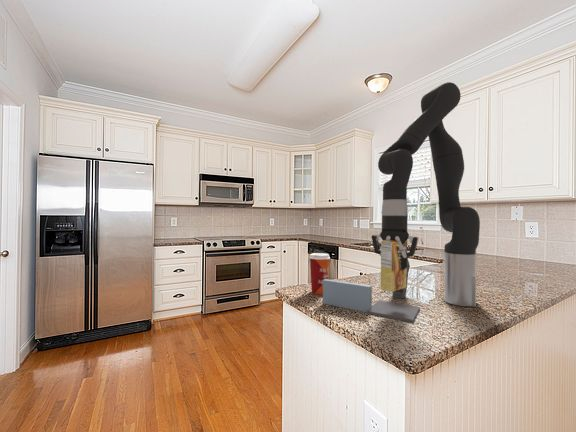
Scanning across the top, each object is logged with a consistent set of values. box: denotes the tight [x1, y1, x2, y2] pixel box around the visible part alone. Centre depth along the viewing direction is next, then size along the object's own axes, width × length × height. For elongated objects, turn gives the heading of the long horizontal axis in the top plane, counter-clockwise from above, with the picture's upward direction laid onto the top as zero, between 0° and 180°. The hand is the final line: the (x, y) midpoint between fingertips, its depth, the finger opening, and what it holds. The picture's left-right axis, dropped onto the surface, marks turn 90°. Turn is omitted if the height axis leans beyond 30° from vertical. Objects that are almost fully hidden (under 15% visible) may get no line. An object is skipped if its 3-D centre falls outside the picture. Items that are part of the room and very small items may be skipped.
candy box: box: [380, 240, 408, 293], centre depth 86 cm, size 9×4×15 cm, turn 129°
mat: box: [366, 299, 421, 323], centre depth 85 cm, size 13×13×1 cm
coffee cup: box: [308, 252, 331, 296], centre depth 106 cm, size 8×8×15 cm
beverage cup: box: [391, 260, 411, 299], centre depth 102 cm, size 7×7×20 cm
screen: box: [322, 278, 373, 313], centre depth 89 cm, size 16×2×8 cm, turn 57°
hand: (394, 268), depth 86 cm, fingers closed on candy box, 5 cm apart
